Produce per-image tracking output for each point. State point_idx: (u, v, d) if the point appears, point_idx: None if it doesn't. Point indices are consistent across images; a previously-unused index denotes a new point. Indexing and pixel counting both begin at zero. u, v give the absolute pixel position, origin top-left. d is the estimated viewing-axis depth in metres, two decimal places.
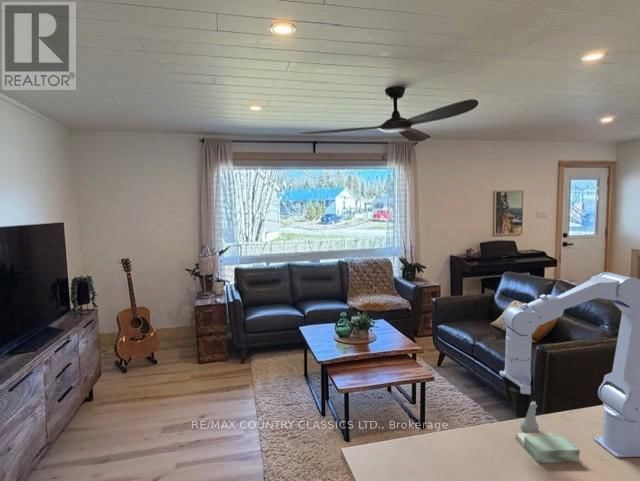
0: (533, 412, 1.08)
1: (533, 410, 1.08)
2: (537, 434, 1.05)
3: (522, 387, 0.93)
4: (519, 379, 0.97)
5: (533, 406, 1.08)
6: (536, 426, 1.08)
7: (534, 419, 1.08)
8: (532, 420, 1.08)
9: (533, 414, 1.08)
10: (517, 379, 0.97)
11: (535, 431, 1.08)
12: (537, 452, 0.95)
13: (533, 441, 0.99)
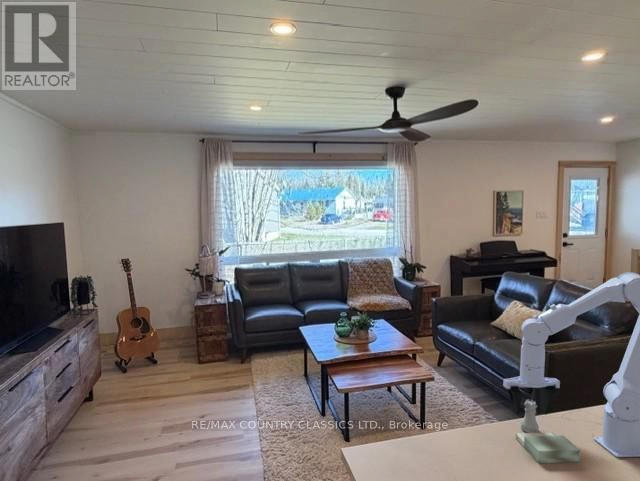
0: (533, 412, 1.08)
1: (533, 410, 1.08)
2: (537, 434, 1.05)
3: (503, 380, 1.09)
4: (519, 380, 1.09)
5: (533, 406, 1.08)
6: (536, 426, 1.08)
7: (534, 419, 1.08)
8: (532, 420, 1.08)
9: (533, 414, 1.08)
10: (518, 379, 1.09)
11: (535, 431, 1.08)
12: (537, 452, 0.95)
13: (533, 441, 0.99)
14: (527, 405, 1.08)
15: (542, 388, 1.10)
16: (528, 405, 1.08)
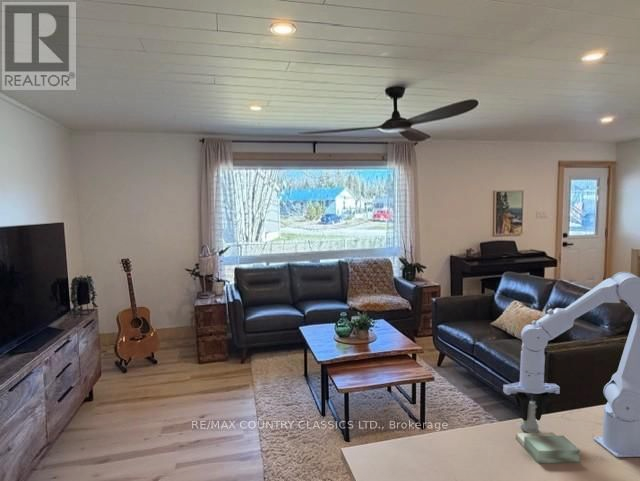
0: (533, 412, 1.08)
1: (533, 410, 1.08)
2: (537, 434, 1.05)
3: (503, 386, 1.09)
4: (519, 386, 1.09)
5: (533, 406, 1.08)
6: (536, 426, 1.08)
7: (534, 419, 1.08)
8: (532, 420, 1.08)
9: (533, 414, 1.08)
10: (518, 385, 1.09)
11: (535, 431, 1.08)
12: (537, 452, 0.95)
13: (533, 441, 0.99)
14: None
15: (535, 394, 1.10)
16: None
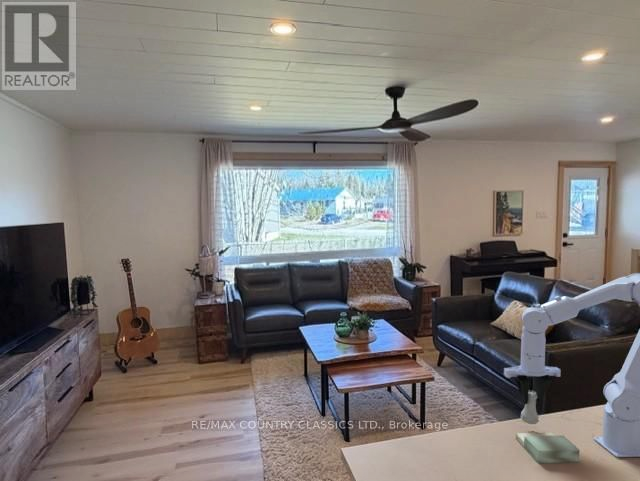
0: (534, 402, 1.08)
1: (534, 400, 1.08)
2: (537, 434, 1.05)
3: (504, 369, 1.09)
4: (520, 369, 1.08)
5: (534, 396, 1.07)
6: (536, 416, 1.08)
7: (534, 410, 1.08)
8: (533, 411, 1.08)
9: (533, 404, 1.08)
10: (519, 369, 1.09)
11: (535, 421, 1.07)
12: (537, 452, 0.95)
13: (533, 441, 0.99)
14: (528, 395, 1.08)
15: (536, 377, 1.09)
16: (529, 395, 1.08)
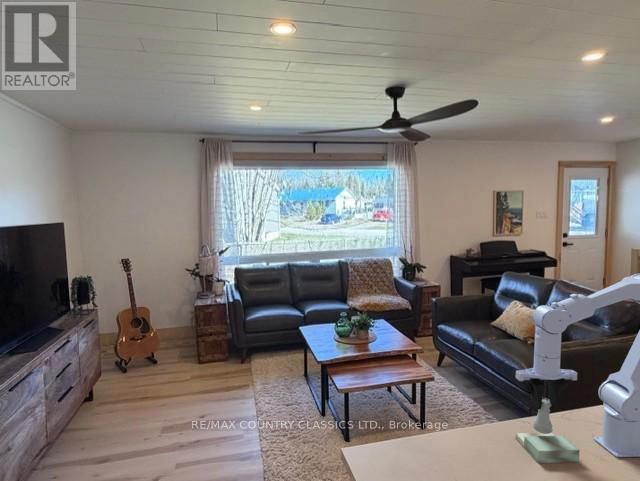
0: (547, 411, 1.01)
1: (547, 409, 1.01)
2: (537, 434, 1.05)
3: (516, 372, 1.01)
4: (533, 372, 1.01)
5: (547, 405, 1.00)
6: (550, 426, 1.01)
7: (548, 419, 1.01)
8: (546, 420, 1.01)
9: (547, 413, 1.01)
10: (532, 371, 1.01)
11: (549, 431, 1.01)
12: (537, 452, 0.95)
13: (533, 441, 0.99)
14: None
15: (550, 381, 1.02)
16: (542, 404, 1.01)
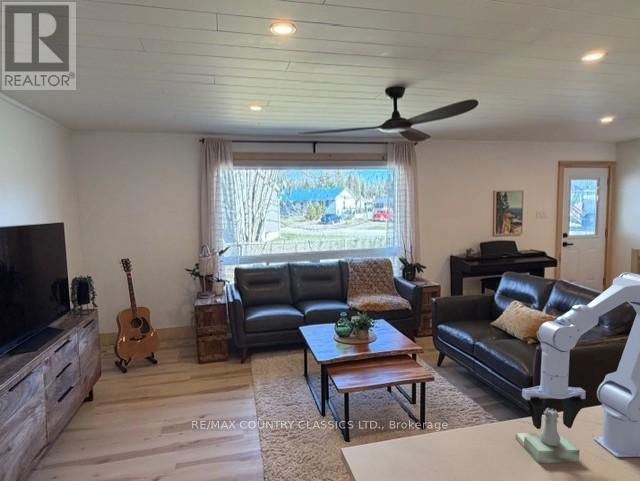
0: (554, 422, 0.97)
1: (554, 420, 0.97)
2: (537, 434, 1.05)
3: (522, 390, 0.98)
4: (540, 390, 0.97)
5: (554, 415, 0.97)
6: (558, 438, 0.97)
7: (555, 430, 0.97)
8: (554, 431, 0.97)
9: (554, 424, 0.97)
10: (539, 389, 0.98)
11: (557, 443, 0.97)
12: (537, 452, 0.95)
13: (533, 441, 0.99)
14: (548, 414, 0.97)
15: (565, 399, 0.98)
16: (549, 414, 0.97)
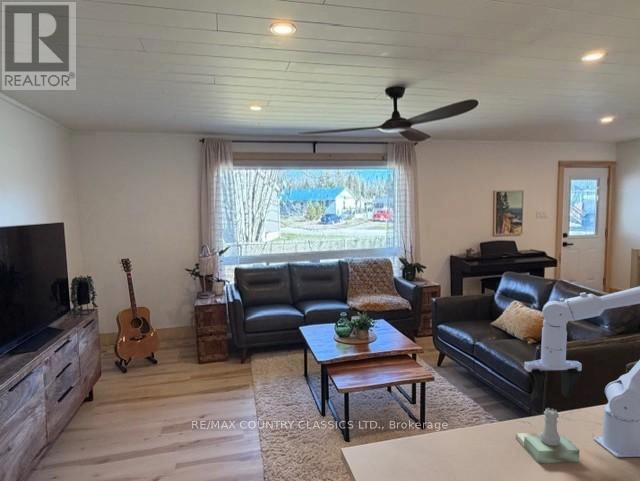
0: (554, 422, 0.97)
1: (554, 420, 0.97)
2: (537, 434, 1.05)
3: (524, 363, 1.08)
4: (540, 363, 1.07)
5: (554, 415, 0.97)
6: (558, 438, 0.97)
7: (555, 430, 0.97)
8: (554, 431, 0.97)
9: (554, 424, 0.97)
10: (540, 362, 1.08)
11: (557, 443, 0.97)
12: (537, 452, 0.95)
13: (533, 441, 0.99)
14: (548, 414, 0.97)
15: (563, 371, 1.08)
16: (549, 414, 0.97)
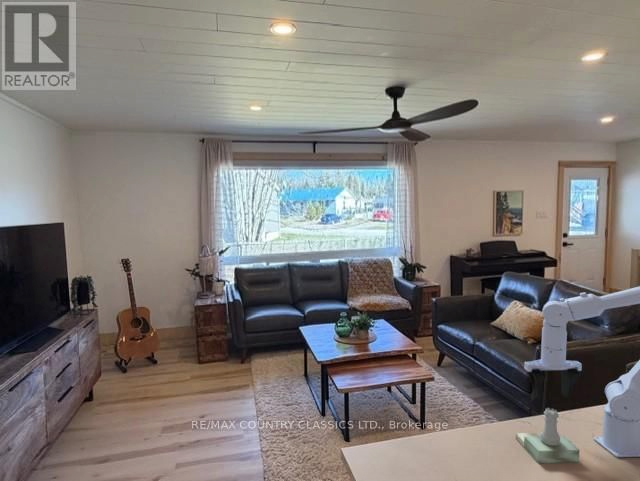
0: (554, 422, 0.97)
1: (554, 420, 0.97)
2: (537, 434, 1.05)
3: (524, 363, 1.08)
4: (540, 363, 1.07)
5: (554, 415, 0.97)
6: (558, 438, 0.97)
7: (555, 430, 0.97)
8: (554, 431, 0.97)
9: (554, 424, 0.97)
10: (540, 362, 1.08)
11: (557, 443, 0.97)
12: (537, 452, 0.95)
13: (533, 441, 0.99)
14: (548, 414, 0.97)
15: (563, 371, 1.08)
16: (549, 414, 0.97)
